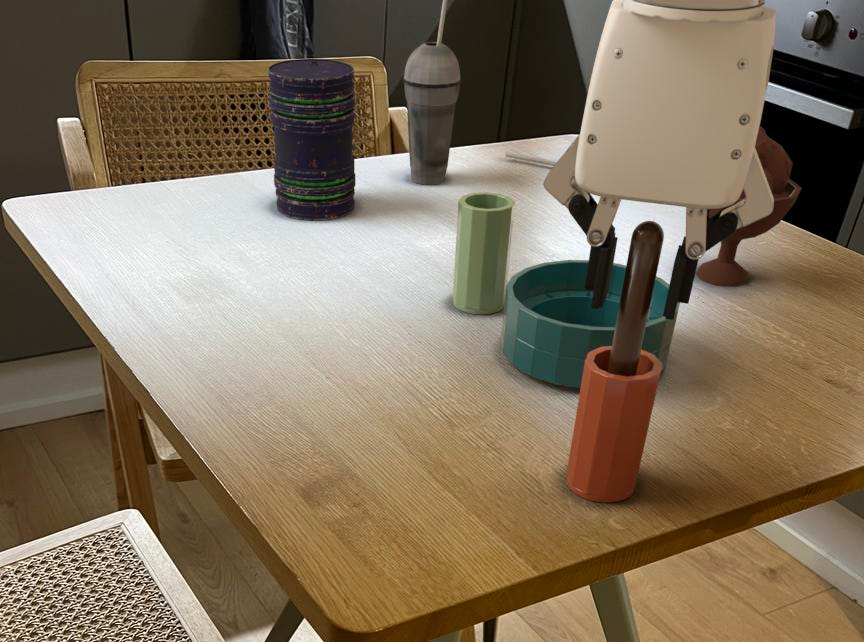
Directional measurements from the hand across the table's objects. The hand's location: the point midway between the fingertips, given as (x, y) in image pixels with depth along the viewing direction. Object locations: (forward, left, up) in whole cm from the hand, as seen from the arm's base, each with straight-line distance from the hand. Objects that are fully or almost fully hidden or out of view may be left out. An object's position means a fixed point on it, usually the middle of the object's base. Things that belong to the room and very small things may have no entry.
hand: (635, 303), depth 64 cm
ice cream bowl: (-6, -45, -14) cm, 48 cm away
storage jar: (+43, -50, -14) cm, 68 cm away
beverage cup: (+33, -65, -14) cm, 74 cm away
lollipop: (+18, -75, -14) cm, 78 cm away
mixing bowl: (+5, -21, -14) cm, 26 cm away
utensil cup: (0, 0, -14) cm, 14 cm away
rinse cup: (+17, -29, -14) cm, 36 cm away
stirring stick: (0, 0, -14) cm, 14 cm away
